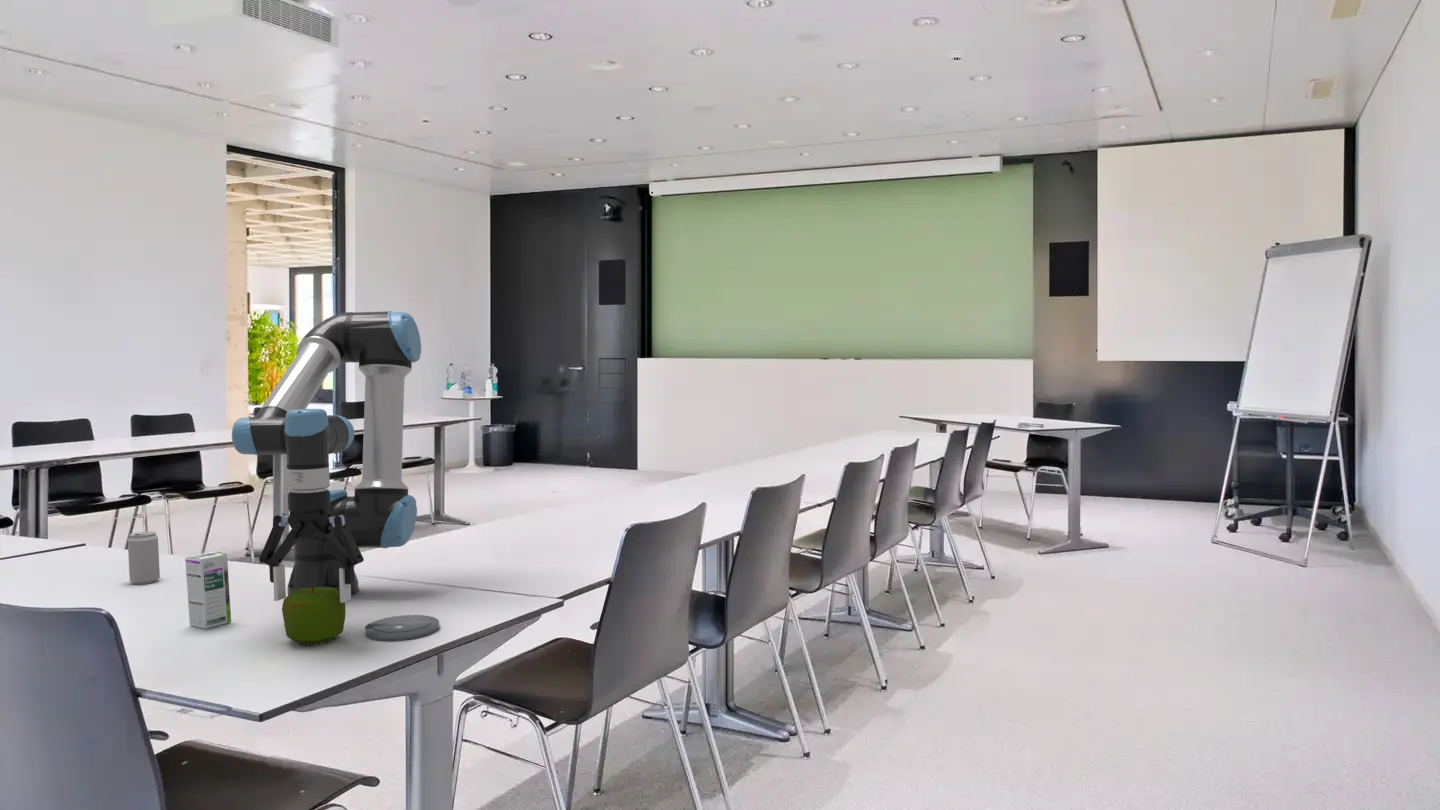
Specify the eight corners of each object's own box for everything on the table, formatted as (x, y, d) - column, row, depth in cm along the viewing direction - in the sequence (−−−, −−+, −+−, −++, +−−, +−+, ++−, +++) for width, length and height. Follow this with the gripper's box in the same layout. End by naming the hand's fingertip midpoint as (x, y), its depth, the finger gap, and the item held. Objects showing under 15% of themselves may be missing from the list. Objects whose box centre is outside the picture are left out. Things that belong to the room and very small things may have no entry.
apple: (357, 633, 203) (354, 579, 202) (324, 650, 192) (321, 592, 192) (307, 630, 205) (304, 577, 205) (271, 647, 195) (269, 590, 194)
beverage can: (123, 584, 247) (120, 534, 246) (147, 578, 253) (144, 529, 252) (142, 586, 245) (140, 536, 244) (166, 580, 251) (163, 531, 250)
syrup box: (205, 629, 207) (201, 558, 206) (188, 625, 210) (184, 555, 209) (231, 622, 212) (228, 553, 211) (214, 618, 215) (211, 550, 214)
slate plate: (351, 639, 199) (351, 632, 199) (386, 619, 212) (386, 612, 212) (420, 642, 196) (419, 634, 196) (450, 621, 210) (450, 614, 210)
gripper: (236, 492, 195) (241, 603, 196) (359, 493, 191) (363, 606, 192) (260, 486, 202) (264, 593, 204) (379, 487, 198) (382, 596, 200)
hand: (312, 600), depth 198 cm, fingers open, 13 cm apart
